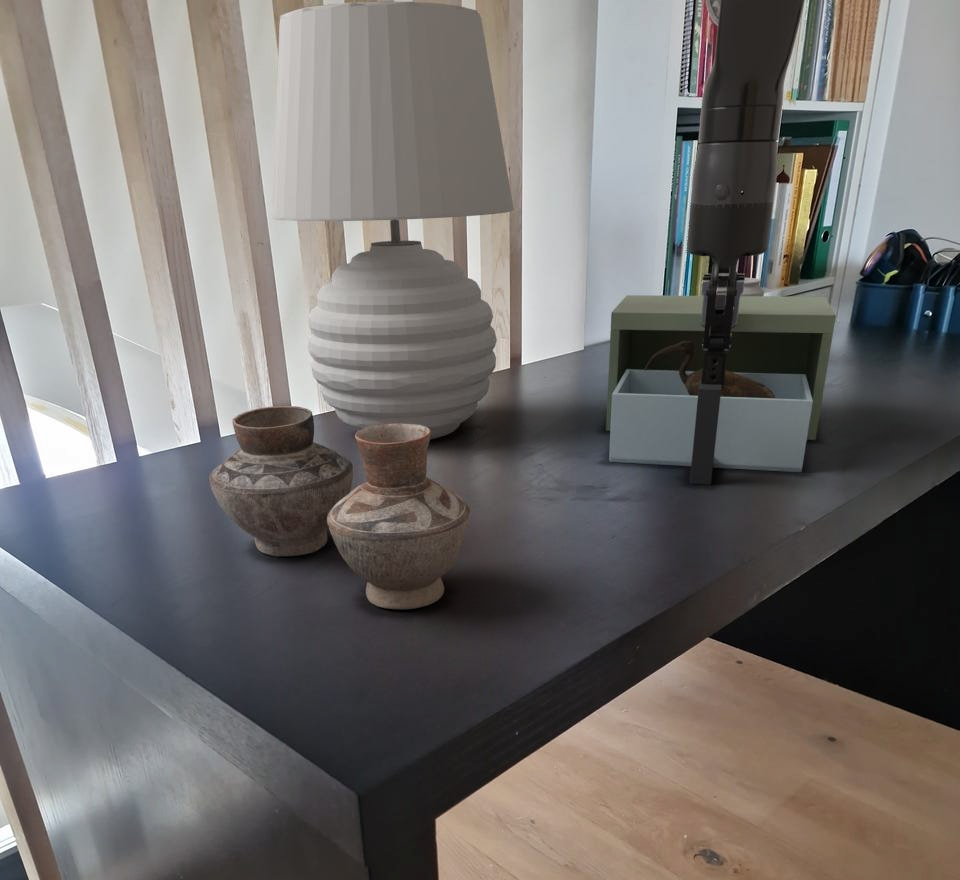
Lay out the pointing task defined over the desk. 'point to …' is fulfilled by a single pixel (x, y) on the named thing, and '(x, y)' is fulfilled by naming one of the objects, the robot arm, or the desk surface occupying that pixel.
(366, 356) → the table lamp
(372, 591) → the pottery
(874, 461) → the desk surface
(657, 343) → the cabinet
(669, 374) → the bin
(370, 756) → the desk surface
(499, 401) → the desk surface
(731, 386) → the figurine
